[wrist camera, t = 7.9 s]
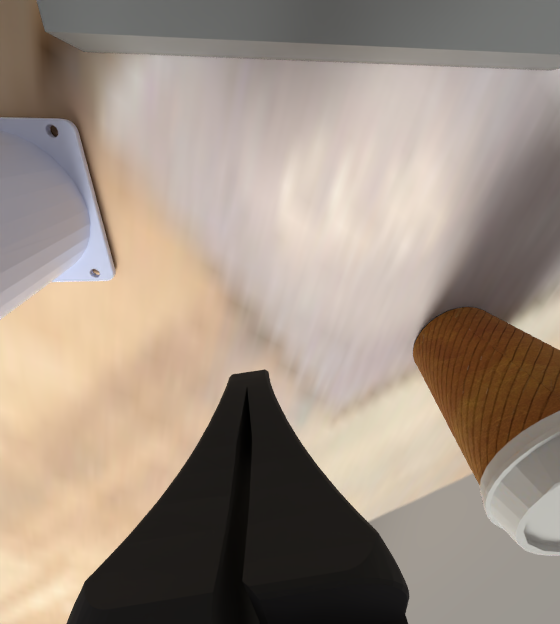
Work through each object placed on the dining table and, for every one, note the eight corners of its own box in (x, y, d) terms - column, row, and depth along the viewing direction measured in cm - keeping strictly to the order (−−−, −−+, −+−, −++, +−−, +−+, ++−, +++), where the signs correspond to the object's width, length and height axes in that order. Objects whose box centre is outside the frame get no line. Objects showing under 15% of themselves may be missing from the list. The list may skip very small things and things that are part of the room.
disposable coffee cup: (467, 259, 20) (704, 391, 10) (539, 328, 24) (770, 479, 13) (366, 357, 23) (461, 534, 13) (442, 405, 27) (564, 574, 16)
